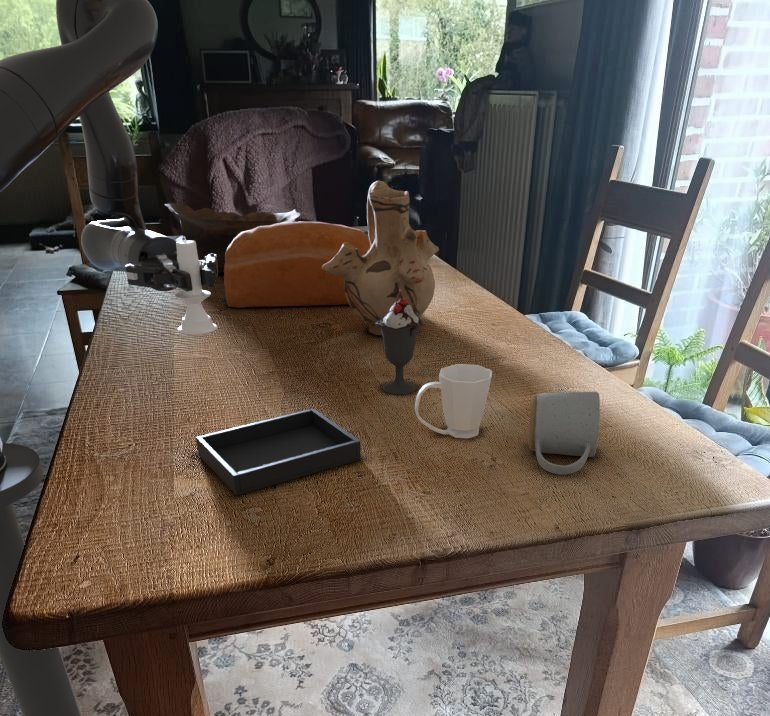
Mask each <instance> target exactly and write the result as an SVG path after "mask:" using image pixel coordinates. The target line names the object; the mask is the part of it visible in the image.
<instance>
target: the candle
mask: <svg viewBox="0 0 770 716" xmlns="http://www.w3.org/2000/svg"><path fill="white" fill-rule="evenodd" d="M184 239H185V240H182V241H179V242H177V243H176V247H177V261H178V263H179V269H180V270H182V271H185V272H187V273H189V274H190V276H191V281H192V291H185V290H183V289H182V291H179V292H176V293H175V294H174V297H175V298H177V299H179V300H180V301H182V302H184V303H187V306H186V310H185V314H184V316H183V317H182V318H181V325H180V326H179V327H177V332H178V333H181V334H182V335H187V336H188V335H189V336H191V335H192V336H197V335H199V336H200V335H207V334H211V333H213V332H215V331H217V330H218V325H217V324H215V323H213V320H212V317H211V316H210V315H209V314H208V313H207V312H206V310H205V308H204V307H203V304H202V302H203V301H204V300H206V299H208V298H209V297H210V296H211V295H212V293H211V291H209V290H204V289H203V285H202V284H201V277H200V269H199V260H198V254H197V248H196V242H195V241H188V240H186V238H185V237H184Z"/></svg>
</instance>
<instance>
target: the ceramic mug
mask: <svg viewBox="0 0 770 716" xmlns="http://www.w3.org/2000/svg"><path fill="white" fill-rule="evenodd" d="M600 399H601V397H600V393H599V392H598V391H577V392H576V391H575V392H568V391H567V392H543V393H538V394H534V395H533V396H532V397H530V404H529V423H528V440H527V441H528V442H527V448H529V449H530V450H531V451H533V452H535V456H536V460H537V462H538V464H539V466H540V467H541V468H542V469H543V470H545V471H547V472H549V473H550V474H554V475H561V476H562V475H563V476H565V475H571V474H575V473H576V472H578V471H580V470H581V469H582V468H583V467H584V465H585V464H586V462H587V460H588V458H593V457H595V455H596V453H597V447H598V443H599V432H600V423H601V422H600V421H601V419H600V418H601V400H600ZM543 454H551V455H553V454H554V455H562V456H563V455H564V456H574V457H580V458H579V459H577V460H576V461H574V462H573V463H570V464H567V465H562V464H555V463H552V462H550V461H549V460H547V459H545V457H544V455H543Z"/></svg>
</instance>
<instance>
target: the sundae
mask: <svg viewBox="0 0 770 716" xmlns="http://www.w3.org/2000/svg"><path fill="white" fill-rule="evenodd" d="M398 293H399V294H398V296H400V293H401V290H400V291H399V292H398ZM398 296H397V299H396V303H394V304H393V305H392V307H391V308H390V310H389V313H388V314H387V315H386V316H385V317H382V318H381V319H379V320H378V321H377V322H376V324H377V325H379V326H380V328H381V331H382V336H381V337H382V342H383V350H384V354H385V359H386V360H387V361H388V362H389V363H390V364H391V365H393V366H394V368H395V375H394V379H393V381H391V382H387V383H385V384H384V385H383V387H382V389H383V391H384V392H385V393H388V394H391V395H407V394H411V393H413V392H415V390H416V389H417V387H416V385H415V384H413V383H412V382H409V381H408V382H407V381H406V380H405V375H404V368H405V367H406V366H407V365H409V363H410V362H411V361H412V360H413V358H414V354H415V348H416V342H417V341H416V340H417V335H418V331H419V328H421V327H422V326H423V325H424V322H423V320H422V318H421V317H417V315H415V314H414V311H415V309H414V308H412V307H411V306H410V305H409V304H408V303H407V301H406V299H402V298H401V296H400V298H401V299H400V300H399V302H397V300H398Z"/></svg>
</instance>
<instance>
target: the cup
mask: <svg viewBox="0 0 770 716" xmlns="http://www.w3.org/2000/svg"><path fill="white" fill-rule="evenodd" d="M492 376H493V370H492V369H489V368H487V367H484V366H482V365H479V364H467V363H456V364H452V365H449V366H445V367H441V368H440V371H439V374H438V379H439V380H438V381H431V382H426V383H425V384H423V385H422V387H421V388H420V389H419V390H418V391H417V394H416V397H415V401H414V413H415V415H416V419H418V420H419V422H421V423H422V424H423V426H425V427H427V428H429V429H430V430H432V431H433V432H435V433H438V434H441V435H449V436H451V437H453V438H455V439H456V438H457V439H470V438H471V439H472V438H474V437H477V436H479V431H480V426H481V423H482V421H483V417H484V414H485V411H486V410H485V409H486V405H487V399H488V395H489V390H490V386H491V382H492ZM430 388H432V389H433V388H435V389H440V397H441V406H442V412H443V416H444V420H445V425H446V426H447V427H446V428H447V429H441V428H438V427H435V426H433V425H432V424H431V423H429V422H427V421H426V420H424V419H423V418H422V417H421V416H420V413H419V408H420V407H419V406H420V402H421V399H422V398H421V397H422V396H423V395H424V393H425V392H426V391H427V390H428V389H430Z"/></svg>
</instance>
